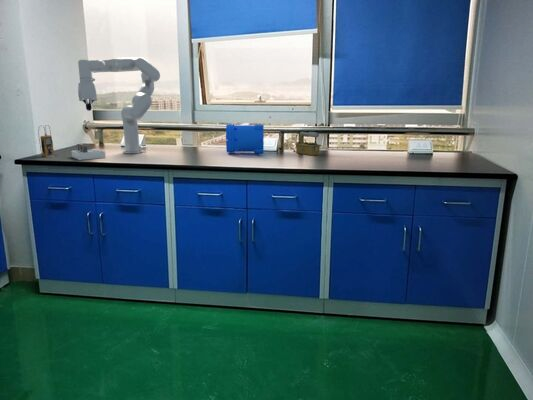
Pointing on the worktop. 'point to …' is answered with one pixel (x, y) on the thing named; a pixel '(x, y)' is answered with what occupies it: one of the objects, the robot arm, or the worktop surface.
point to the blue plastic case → (245, 138)
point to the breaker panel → (88, 154)
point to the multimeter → (46, 145)
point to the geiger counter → (307, 144)
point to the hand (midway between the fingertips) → (89, 110)
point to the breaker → (84, 149)
